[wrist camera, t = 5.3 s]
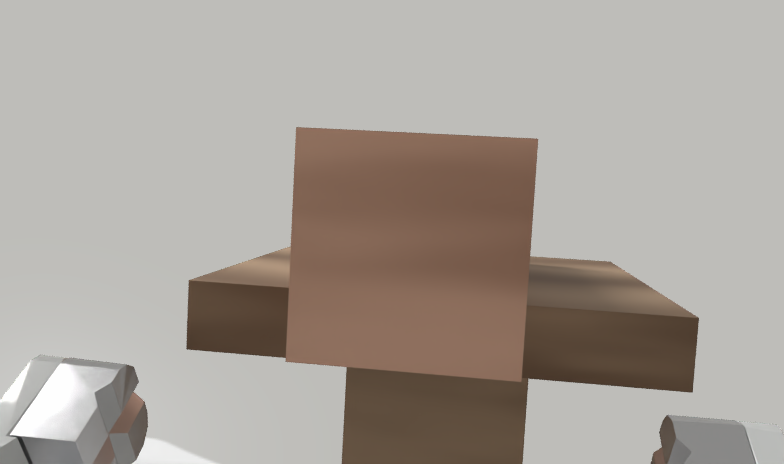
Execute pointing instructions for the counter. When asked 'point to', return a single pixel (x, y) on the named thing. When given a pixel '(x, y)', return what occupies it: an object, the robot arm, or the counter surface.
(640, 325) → the walnut pedestal
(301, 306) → the block
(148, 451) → the counter surface
